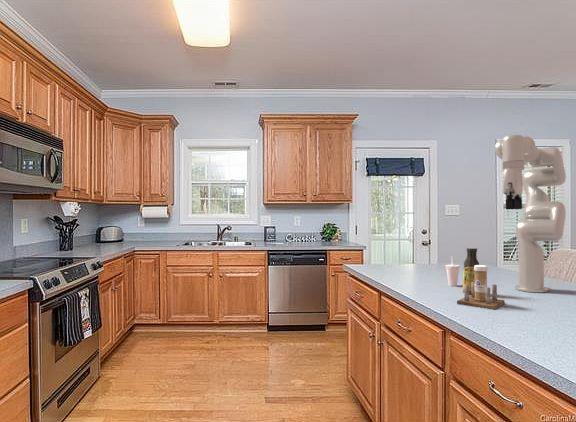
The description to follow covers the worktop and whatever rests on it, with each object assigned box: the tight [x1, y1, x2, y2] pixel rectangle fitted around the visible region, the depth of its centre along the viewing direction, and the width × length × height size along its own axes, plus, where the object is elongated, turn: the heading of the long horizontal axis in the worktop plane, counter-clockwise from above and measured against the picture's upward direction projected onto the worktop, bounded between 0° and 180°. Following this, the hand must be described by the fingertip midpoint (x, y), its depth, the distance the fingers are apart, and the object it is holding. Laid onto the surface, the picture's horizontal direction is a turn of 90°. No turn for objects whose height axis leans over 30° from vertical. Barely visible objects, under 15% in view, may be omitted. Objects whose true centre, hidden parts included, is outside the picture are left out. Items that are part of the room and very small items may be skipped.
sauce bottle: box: [462, 247, 480, 296], centre depth 164 cm, size 6×6×20 cm
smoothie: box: [444, 255, 461, 287], centre depth 183 cm, size 6×6×14 cm
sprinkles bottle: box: [474, 264, 488, 301], centre depth 147 cm, size 5×5×14 cm
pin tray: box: [456, 282, 506, 311], centre depth 147 cm, size 13×13×7 cm
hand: (514, 209), depth 153 cm, fingers open, 9 cm apart
